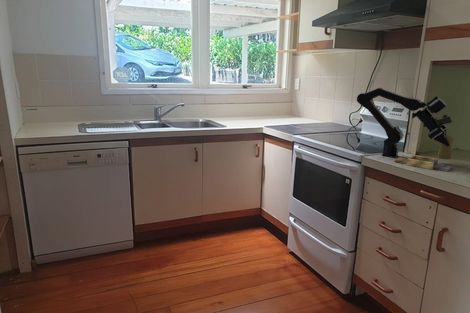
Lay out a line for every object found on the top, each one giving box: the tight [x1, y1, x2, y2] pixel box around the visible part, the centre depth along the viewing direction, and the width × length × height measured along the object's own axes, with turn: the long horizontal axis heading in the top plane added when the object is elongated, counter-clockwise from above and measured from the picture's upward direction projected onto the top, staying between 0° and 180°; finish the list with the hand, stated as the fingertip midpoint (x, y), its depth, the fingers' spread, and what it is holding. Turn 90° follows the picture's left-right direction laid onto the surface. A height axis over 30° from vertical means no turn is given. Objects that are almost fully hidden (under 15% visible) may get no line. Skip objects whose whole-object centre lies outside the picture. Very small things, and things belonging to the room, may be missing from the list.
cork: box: [436, 135, 454, 160], centre depth 167 cm, size 6×6×11 cm
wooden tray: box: [394, 155, 452, 172], centre depth 165 cm, size 23×11×3 cm, turn 49°
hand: (449, 144), depth 166 cm, fingers closed on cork, 5 cm apart
